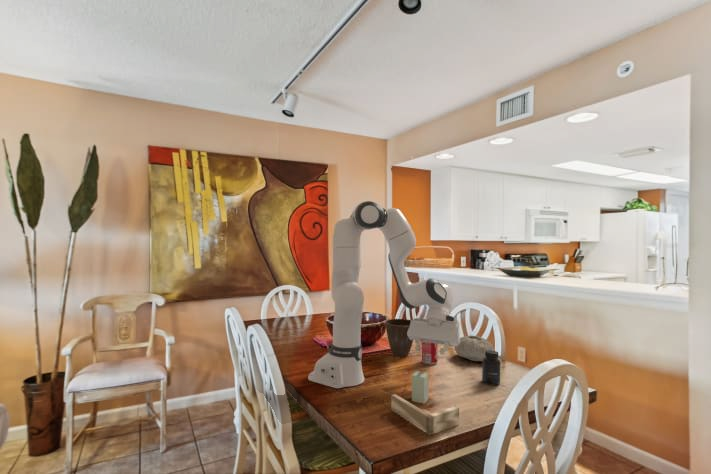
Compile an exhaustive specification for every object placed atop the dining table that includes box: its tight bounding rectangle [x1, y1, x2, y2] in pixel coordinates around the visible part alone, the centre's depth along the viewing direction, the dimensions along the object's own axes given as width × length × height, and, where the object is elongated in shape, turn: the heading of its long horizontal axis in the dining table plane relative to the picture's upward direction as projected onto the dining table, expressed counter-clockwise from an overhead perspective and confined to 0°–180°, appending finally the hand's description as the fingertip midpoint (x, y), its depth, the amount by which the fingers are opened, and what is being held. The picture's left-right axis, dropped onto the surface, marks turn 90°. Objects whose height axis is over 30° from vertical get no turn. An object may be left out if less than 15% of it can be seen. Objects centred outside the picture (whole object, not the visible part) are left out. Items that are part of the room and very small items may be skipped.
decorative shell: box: [454, 334, 495, 362], centre depth 174 cm, size 18×18×10 cm
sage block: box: [411, 370, 429, 405], centre depth 129 cm, size 4×4×9 cm
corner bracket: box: [390, 393, 460, 436], centre depth 117 cm, size 12×18×5 cm, turn 32°
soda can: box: [421, 341, 439, 366], centre depth 168 cm, size 7×7×13 cm
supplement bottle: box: [481, 350, 502, 386], centre depth 146 cm, size 7×7×12 cm
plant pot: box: [385, 318, 414, 358], centre depth 179 cm, size 15×15×16 cm
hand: (429, 351), depth 139 cm, fingers open, 8 cm apart
